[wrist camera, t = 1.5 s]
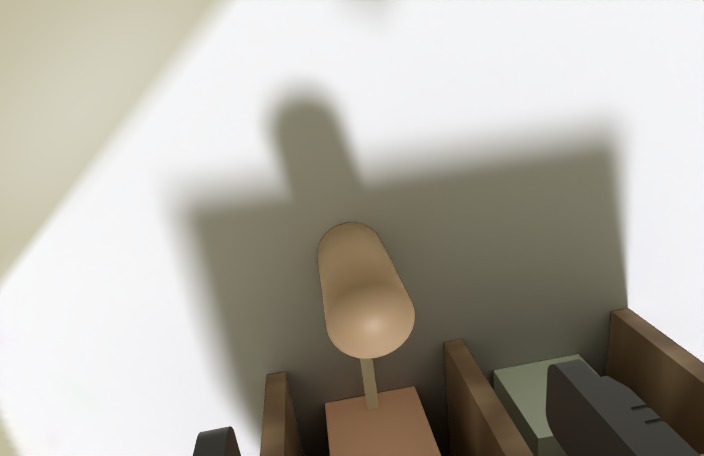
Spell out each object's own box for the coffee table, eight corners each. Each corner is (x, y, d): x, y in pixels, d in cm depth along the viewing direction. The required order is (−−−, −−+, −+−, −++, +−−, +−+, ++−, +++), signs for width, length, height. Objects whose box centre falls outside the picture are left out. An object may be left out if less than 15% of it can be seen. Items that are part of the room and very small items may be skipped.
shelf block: (577, 353, 26) (640, 417, 21) (573, 421, 27) (630, 494, 23) (492, 369, 25) (538, 438, 21) (494, 437, 27) (536, 514, 22)
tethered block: (398, 214, 21) (436, 268, 16) (421, 453, 27) (455, 557, 21) (292, 231, 21) (293, 293, 15) (337, 470, 26) (349, 581, 21)
